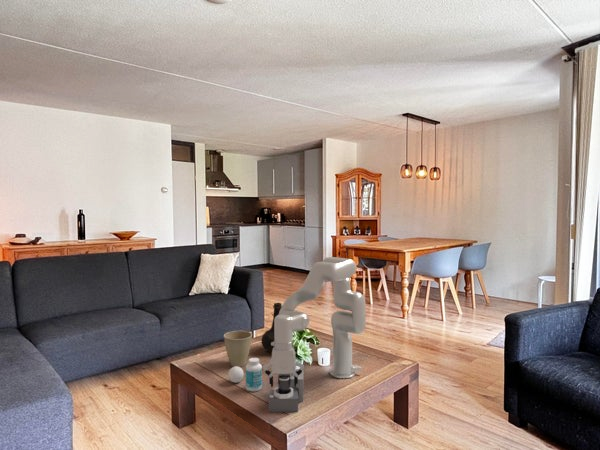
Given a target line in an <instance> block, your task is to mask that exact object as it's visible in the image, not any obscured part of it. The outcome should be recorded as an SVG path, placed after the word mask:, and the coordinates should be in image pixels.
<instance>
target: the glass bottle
mask: <svg viewBox="0 0 600 450" xmlns="http://www.w3.org/2000/svg"><path fill="white" fill-rule="evenodd" d="M282 306H283V305H282V303H281V302H275V303H273V306H272V307H273V317H272V323H271V327H270V329H268V330H266V331H265V332H264V333H263V334H262V336H261V340H260V341H261V345H262V347H263V349H264V350H265V351H267V352H268V353H271V354H272V350H273V348H274V346H271V342H274V319H275V317H276V316H277V315H279V312H280V309H281V308H282Z"/></svg>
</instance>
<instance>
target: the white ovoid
mask: <svg viewBox="0 0 600 450" xmlns="http://www.w3.org/2000/svg"><path fill="white" fill-rule="evenodd" d="M244 374H245V372H244V370H243V368H242V367H238V366H235V367H233V366H231V368H230V369H229V370H228V374H227V376H228V379H229V380H230V382H232V383H239V382H241V381H242V380H243V378H244Z"/></svg>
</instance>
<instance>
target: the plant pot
mask: <svg viewBox="0 0 600 450" xmlns="http://www.w3.org/2000/svg"><path fill="white" fill-rule="evenodd" d="M223 338H224V346H225V351H226V354H227V355H226V356H227V358H228V360H229V363H230V366H231V367H235V366H238V367H240V368H242V367H243V366H245V365H246V363H247V360H248V356H249V354H250V349H251V345H252V339H253V333H252V332H250V331H246V330H233V331H228V332H225V333H224V334H223Z"/></svg>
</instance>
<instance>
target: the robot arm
mask: <svg viewBox="0 0 600 450" xmlns="http://www.w3.org/2000/svg"><path fill="white" fill-rule="evenodd" d="M356 271H357V265H356V262H355V261H354V260H353V259H351V258H345V257H336V256H335V257H334V256H328V257H325V258H324V259H323V260H322V261H317V262H314V263H313V265H312V267H311V268H310V270H309V273H308V274H307V275H306V276H307V277H306V278H305V280H304V282H303V284H302V286H301V287H300V288H299V289H297V290H296V291H295V292H293V293H292V294H290V295H289V296H288V297H287V298H286V299H285V300H284V303H282V305H281V306H282V308H281V309H280V312H279V315H277V316H276V317H275V319H274V342H271V346H274V348H273V350H272V353H271V359H270V361H269V362H267V363H264V364H263V366H262V370H263V372H264V373H265V374H266V375H267V376H268V378H269V385H270V387H271V388H273V386H274V375H278V374H294V386H295V387H296V384H298V376H299V375H300V374H301V373H302V371H303V370H305V369H304V368H305V365H304V364H303V363H302V362H299V361H297V360H296V358H297V357H296V351H295V350H296V349H295V347H294V346H293V343H294V342H293V339H294V337H293V335H294V334H293V333H294V332H300V331H303V330H306V329H307V328H308V326H309V324H310V317H309V316H308V314H306V313H304V312H301V311H297V310H295V309H296V308H297V307H299V306H300V305H301V304H303V303H306V302H308V301H311V300H315V299H317V298H319V296H320V295H321V292H322V290H323V288H324V287H325V285H326V284H325V283H326V282H331V283H332V284H333V290H332V291H333V304H334V306H335V307H336V308H337V309H339V310H336V311H334V312H333V313H332V315H331V318H330V323H331V329H332V351H333V352H332V358H333V359H332V360H333V361H332V368H331V369H329V374H330V375H331V376H332V377H334V378H336V379H342V378H343V379H345V378H346V379H351V378H353V377H355V375H356V372H362V369H363V368H362V366H359V364H358V365H356V364H355V365H354V364H353V337H352V334H355V335H361V334H363V333H364V332H365V329H366V324H367V323H366V322H367V320H366V319H367V318H366V314H367V313H366V312H367V311H366V300H365V296H364V295H363V294H362V293H361V292H359V291H354V290H352V288H351V279H350V278H351V277H353V276H354V275H355V273H356ZM340 309H341V310H340ZM269 367H270V370H269V369H268V368H269ZM297 367H298V368H299V369H297ZM296 370H298V371H296ZM343 379H342V380H343Z"/></svg>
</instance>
